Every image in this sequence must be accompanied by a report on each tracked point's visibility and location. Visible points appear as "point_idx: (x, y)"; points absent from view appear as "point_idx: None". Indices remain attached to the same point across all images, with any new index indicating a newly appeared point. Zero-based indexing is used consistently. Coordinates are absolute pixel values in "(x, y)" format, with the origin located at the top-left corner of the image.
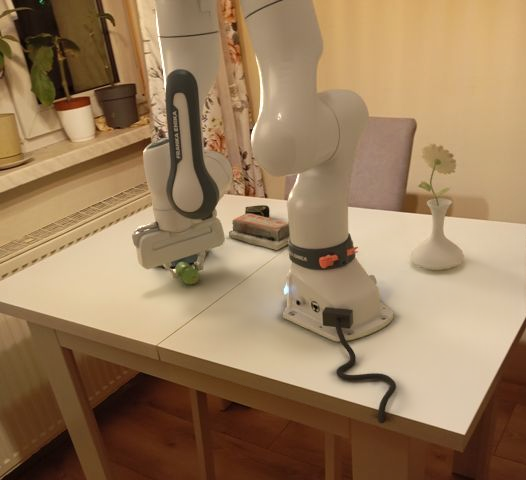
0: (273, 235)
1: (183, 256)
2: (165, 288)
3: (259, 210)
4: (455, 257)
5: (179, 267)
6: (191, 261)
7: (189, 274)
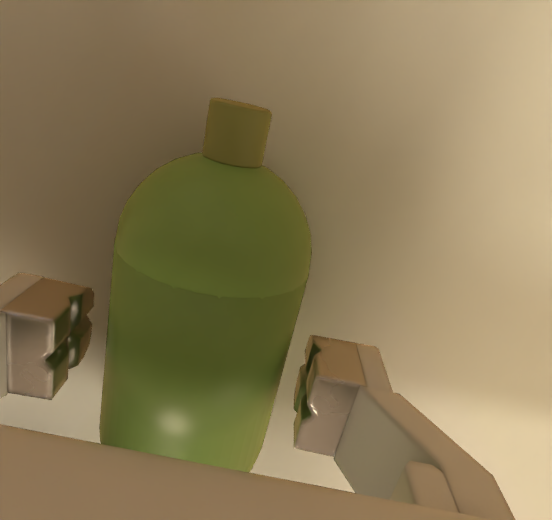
0: None
1: (184, 480)
2: (428, 345)
3: None
4: None
5: (238, 432)
6: None
7: (258, 209)
